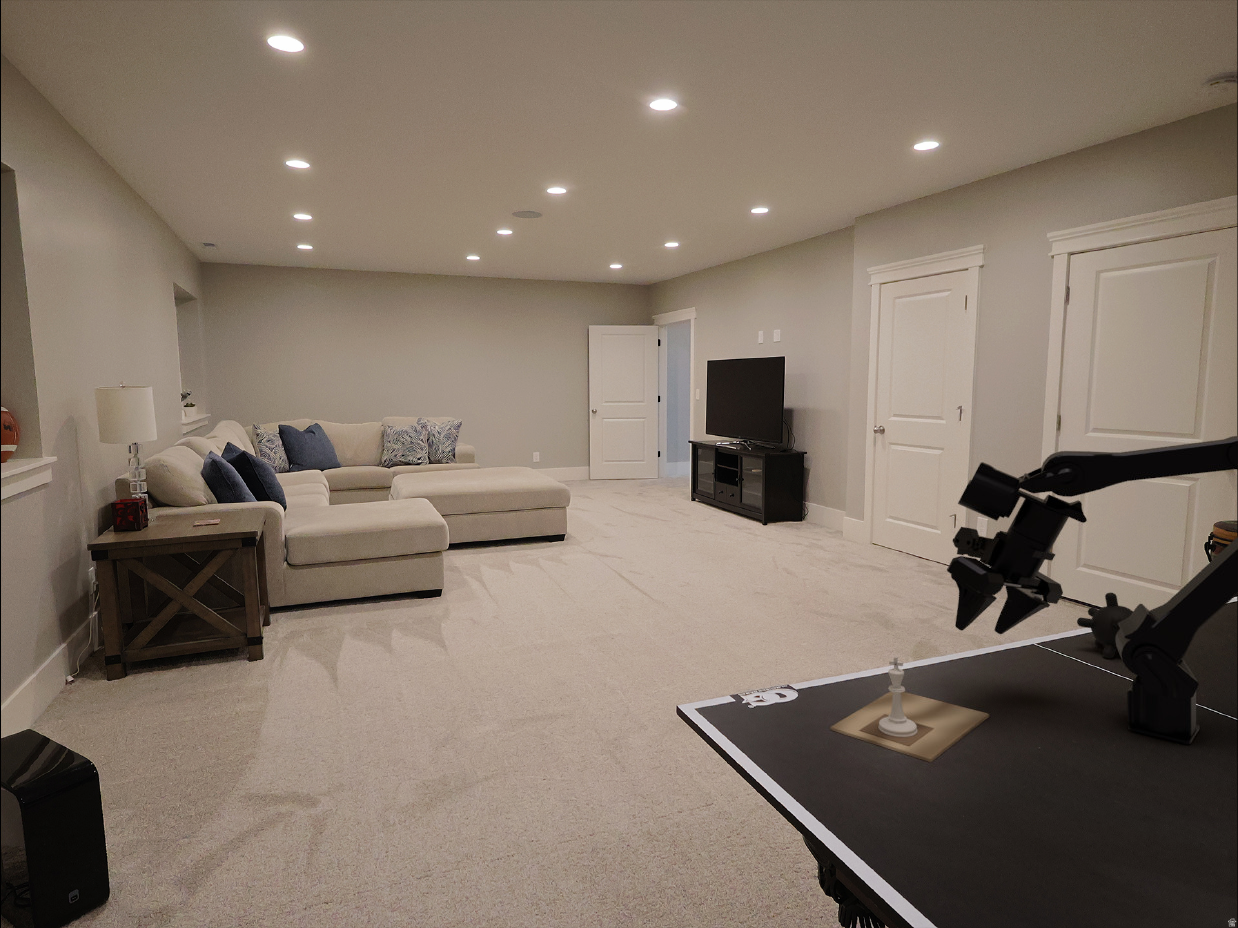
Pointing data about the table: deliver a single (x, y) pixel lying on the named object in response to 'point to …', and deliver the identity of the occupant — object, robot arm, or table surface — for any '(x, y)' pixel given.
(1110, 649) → the knobbed dark ball
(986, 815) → the table surface
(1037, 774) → the table surface
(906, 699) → the board
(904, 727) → the chess piece
